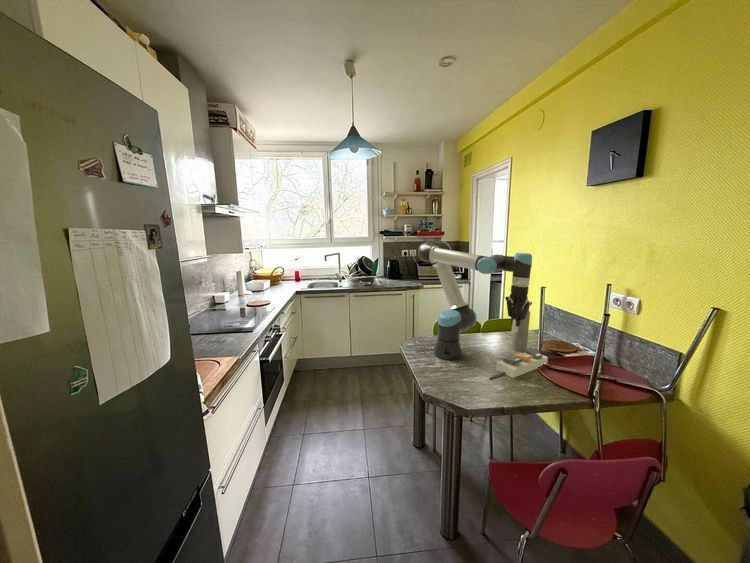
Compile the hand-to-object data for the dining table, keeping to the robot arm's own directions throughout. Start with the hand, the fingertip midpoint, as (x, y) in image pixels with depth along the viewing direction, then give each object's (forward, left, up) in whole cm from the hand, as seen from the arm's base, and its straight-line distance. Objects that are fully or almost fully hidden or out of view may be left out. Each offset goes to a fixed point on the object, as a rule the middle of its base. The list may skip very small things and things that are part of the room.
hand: (514, 331), depth 145 cm
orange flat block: (+5, +1, -12) cm, 13 cm away
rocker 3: (+5, +9, -12) cm, 16 cm away
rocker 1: (+5, -7, -12) cm, 14 cm away
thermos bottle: (-10, +20, -17) cm, 29 cm away
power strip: (+5, -4, -17) cm, 18 cm away
